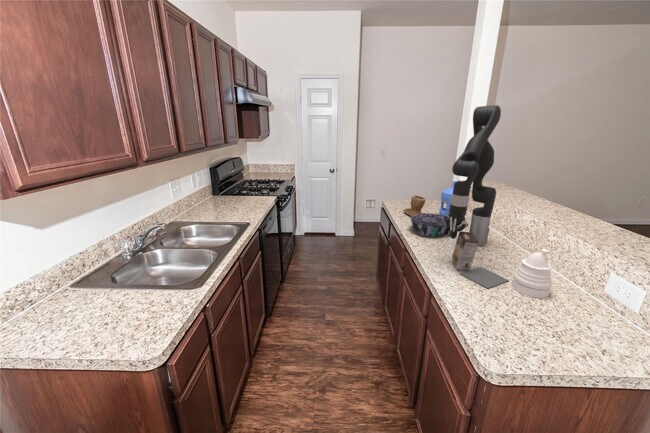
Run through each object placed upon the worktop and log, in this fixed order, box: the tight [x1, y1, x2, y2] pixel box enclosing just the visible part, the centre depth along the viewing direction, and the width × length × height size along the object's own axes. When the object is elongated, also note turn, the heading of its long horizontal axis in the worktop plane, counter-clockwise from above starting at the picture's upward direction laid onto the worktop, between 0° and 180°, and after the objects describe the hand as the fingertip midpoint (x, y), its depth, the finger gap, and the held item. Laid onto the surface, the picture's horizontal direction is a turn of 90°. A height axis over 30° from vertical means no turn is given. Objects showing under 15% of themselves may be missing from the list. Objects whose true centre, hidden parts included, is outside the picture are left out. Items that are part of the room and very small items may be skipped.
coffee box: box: [451, 231, 479, 271], centre depth 133 cm, size 9×6×16 cm
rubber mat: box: [459, 266, 510, 290], centre depth 126 cm, size 14×14×1 cm
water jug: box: [438, 180, 458, 216], centre depth 197 cm, size 16×16×28 cm
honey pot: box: [511, 248, 553, 299], centre depth 115 cm, size 13×13×18 cm
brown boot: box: [403, 195, 426, 217], centre depth 211 cm, size 15×12×15 cm
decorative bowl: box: [410, 212, 451, 238], centre depth 180 cm, size 26×28×10 cm
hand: (452, 237), depth 137 cm, fingers closed
